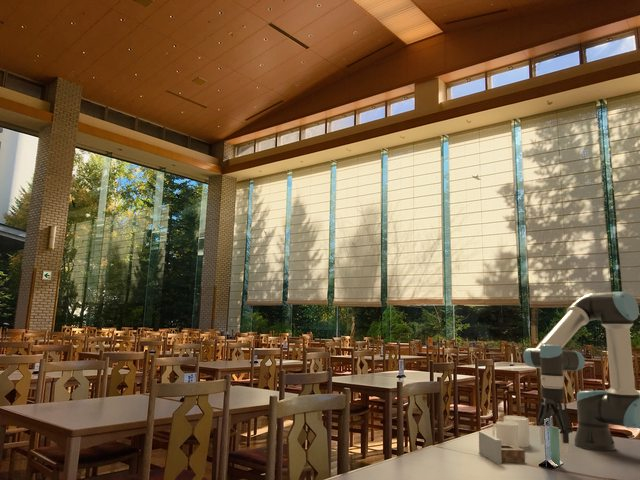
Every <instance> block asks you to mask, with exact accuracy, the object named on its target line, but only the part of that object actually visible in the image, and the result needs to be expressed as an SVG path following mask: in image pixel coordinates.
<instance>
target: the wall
mask: <svg viewBox="0 0 640 480" xmlns="http://www.w3.org/2000/svg"><path fill="white" fill-rule="evenodd" d="M478 453H479V454H480V455H482V456H483V457H485V458H487V459H488V460H490V461H491V462H493V463H494V464H497V465H500V464H502V463H503V462H502V458H501V440H500V439H498V438H496V437H494V436H493V434H490V433H488V432H486V431H485V430H478Z"/></svg>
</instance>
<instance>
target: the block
mask: <svg viewBox="0 0 640 480" xmlns="http://www.w3.org/2000/svg"><path fill="white" fill-rule="evenodd" d="M525 451H526V450H525V449H524V448H523V449H522V448H521V447H517V446H515V445H513V444H501V458H502V463H504V462H505V463H506V462H507V463H508V462H509V463H510V462H512V463H513V462H514V463H515V462H517V463H525V462H526V456H525V455H526V453H525Z"/></svg>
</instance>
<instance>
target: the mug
mask: <svg viewBox="0 0 640 480" xmlns="http://www.w3.org/2000/svg"><path fill="white" fill-rule="evenodd" d="M503 421H504V422H513V423H517V424H518V447H519V448H521V447H522V448H523V447H524V448H525V447H530V446H531V444H530V419H529V418H528V417H525V416H518V415H504V416H503Z"/></svg>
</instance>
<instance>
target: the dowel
mask: <svg viewBox="0 0 640 480" xmlns="http://www.w3.org/2000/svg"><path fill="white" fill-rule="evenodd" d="M559 429H560V427H559V426H558V427H557V426H549V445H550V461H551V460H552V461H553V462H554V463H555V464H557V465H558V466H557V467H561V449H560V431H559Z"/></svg>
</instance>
